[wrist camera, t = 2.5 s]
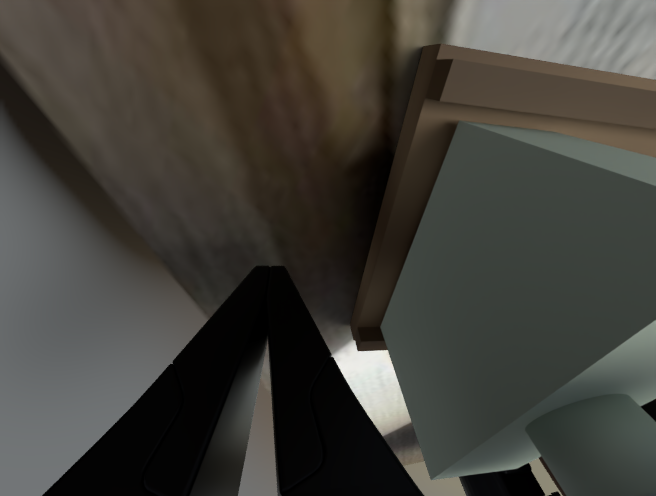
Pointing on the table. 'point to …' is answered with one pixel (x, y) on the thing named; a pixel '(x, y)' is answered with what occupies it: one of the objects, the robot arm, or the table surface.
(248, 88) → the table surface
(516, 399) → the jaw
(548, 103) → the brown boxy piece
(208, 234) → the table surface
